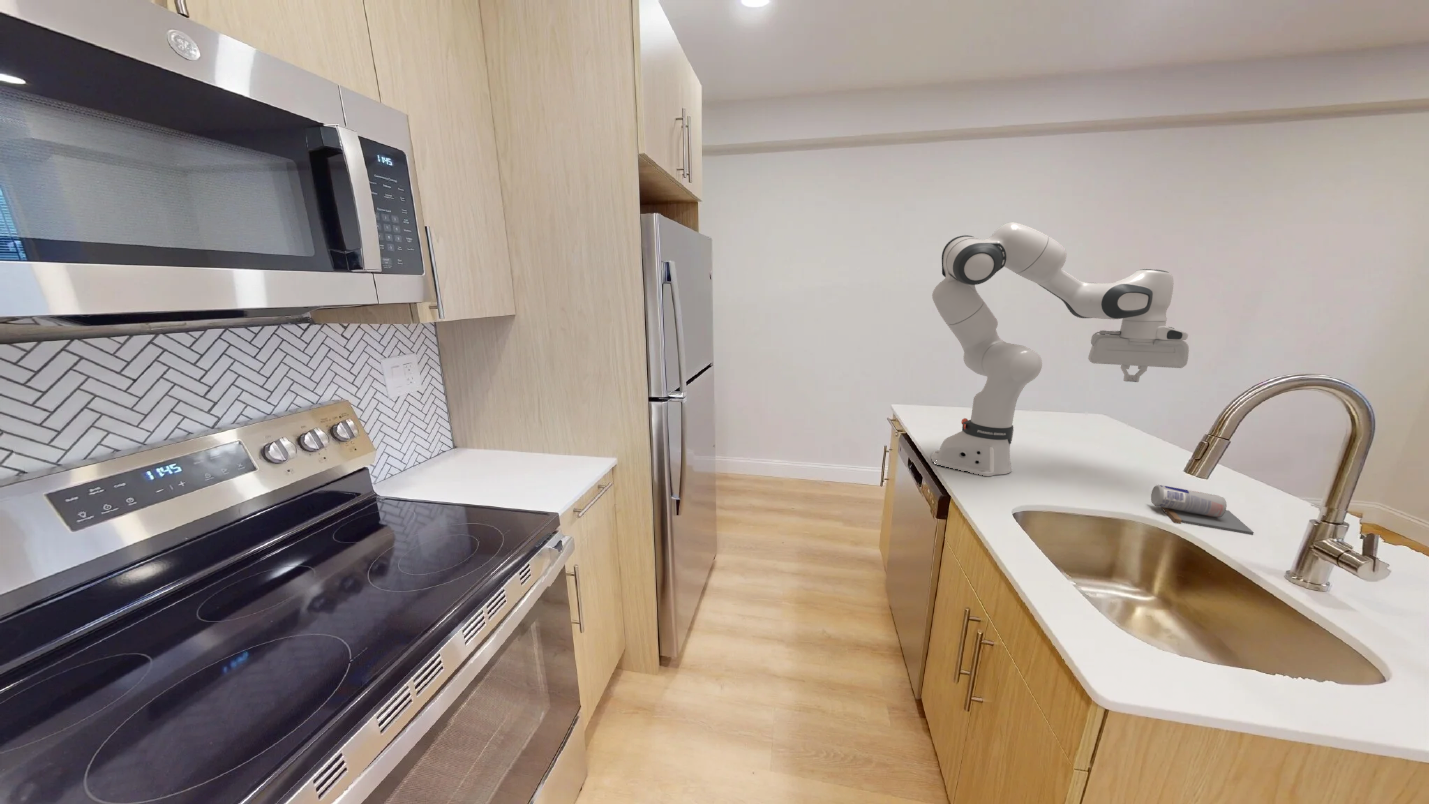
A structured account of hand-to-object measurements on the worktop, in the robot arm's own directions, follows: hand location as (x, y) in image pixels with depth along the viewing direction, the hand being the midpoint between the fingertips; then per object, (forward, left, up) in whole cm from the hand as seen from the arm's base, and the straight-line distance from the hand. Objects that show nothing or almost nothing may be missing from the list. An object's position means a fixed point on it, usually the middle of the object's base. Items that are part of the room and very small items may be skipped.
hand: (1130, 381), depth 128 cm
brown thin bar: (+7, -19, -29) cm, 36 cm away
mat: (+14, -19, -29) cm, 38 cm away
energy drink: (+4, -19, -25) cm, 32 cm away
